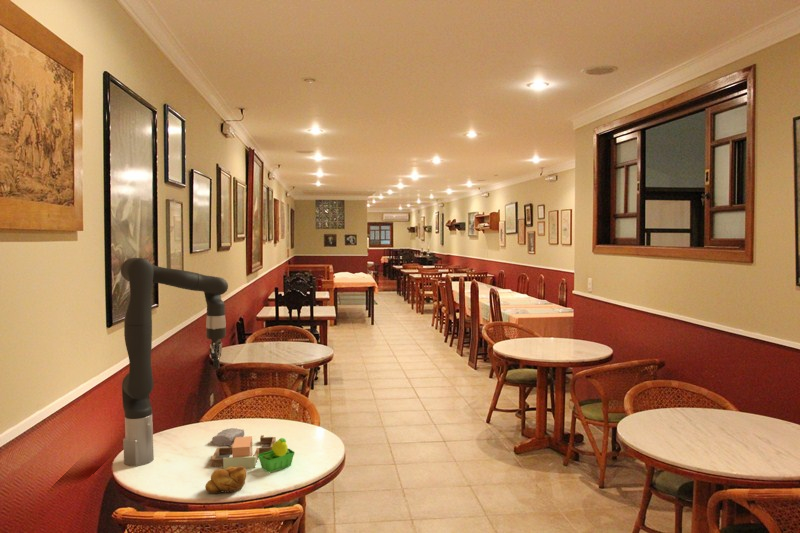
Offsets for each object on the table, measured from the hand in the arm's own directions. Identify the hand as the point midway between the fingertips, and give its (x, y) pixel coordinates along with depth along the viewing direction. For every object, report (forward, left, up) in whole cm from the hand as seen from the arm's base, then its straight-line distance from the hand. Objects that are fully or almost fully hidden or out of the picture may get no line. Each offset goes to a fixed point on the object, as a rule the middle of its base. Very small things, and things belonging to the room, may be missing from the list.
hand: (216, 368), depth 231 cm
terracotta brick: (-15, -24, -29) cm, 41 cm away
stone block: (+1, -4, -30) cm, 30 cm away
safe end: (-20, -27, -29) cm, 45 cm away
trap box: (-8, -20, -29) cm, 37 cm away
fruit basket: (-14, -39, -30) cm, 51 cm away
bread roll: (-35, -34, -30) cm, 57 cm away
